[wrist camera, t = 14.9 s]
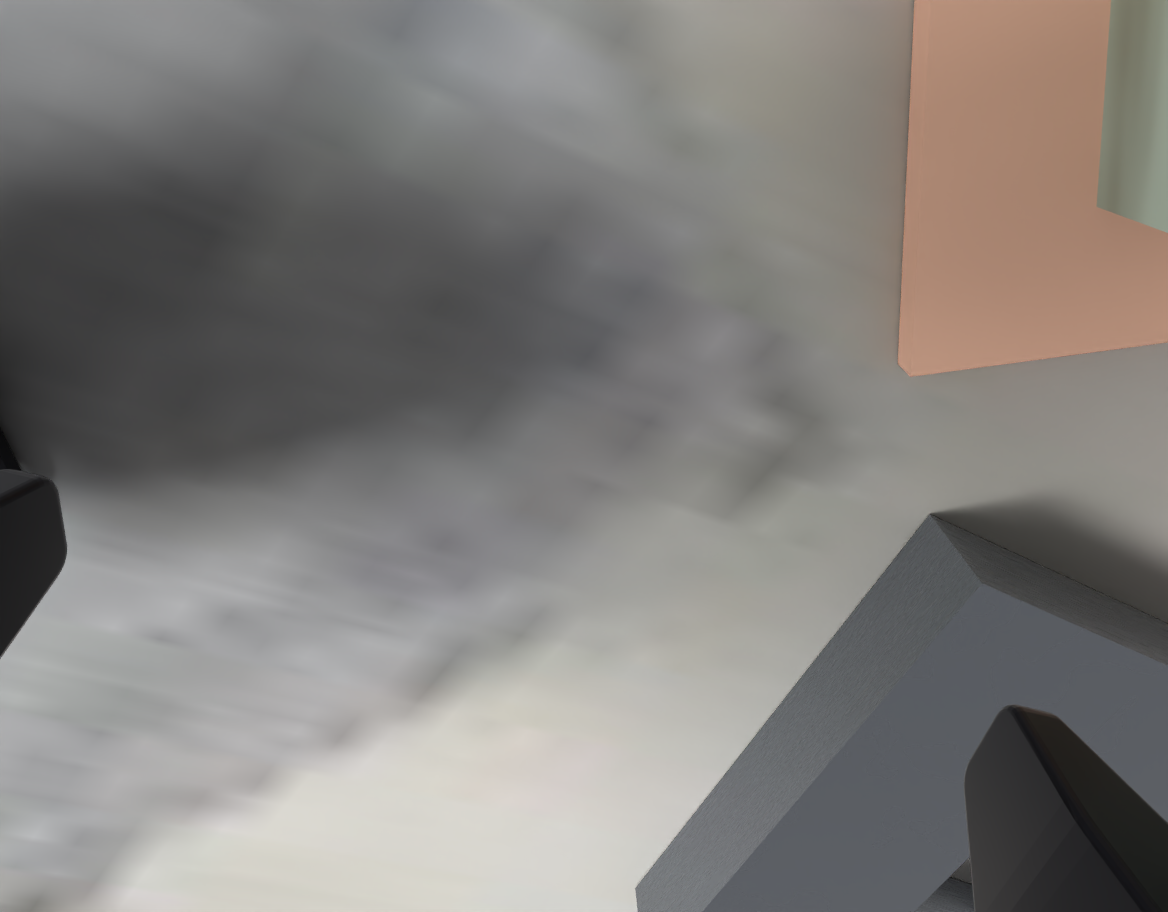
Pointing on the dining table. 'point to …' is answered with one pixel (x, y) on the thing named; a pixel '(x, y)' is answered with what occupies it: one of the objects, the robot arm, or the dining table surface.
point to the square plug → (1136, 114)
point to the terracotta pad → (1016, 194)
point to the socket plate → (916, 735)
